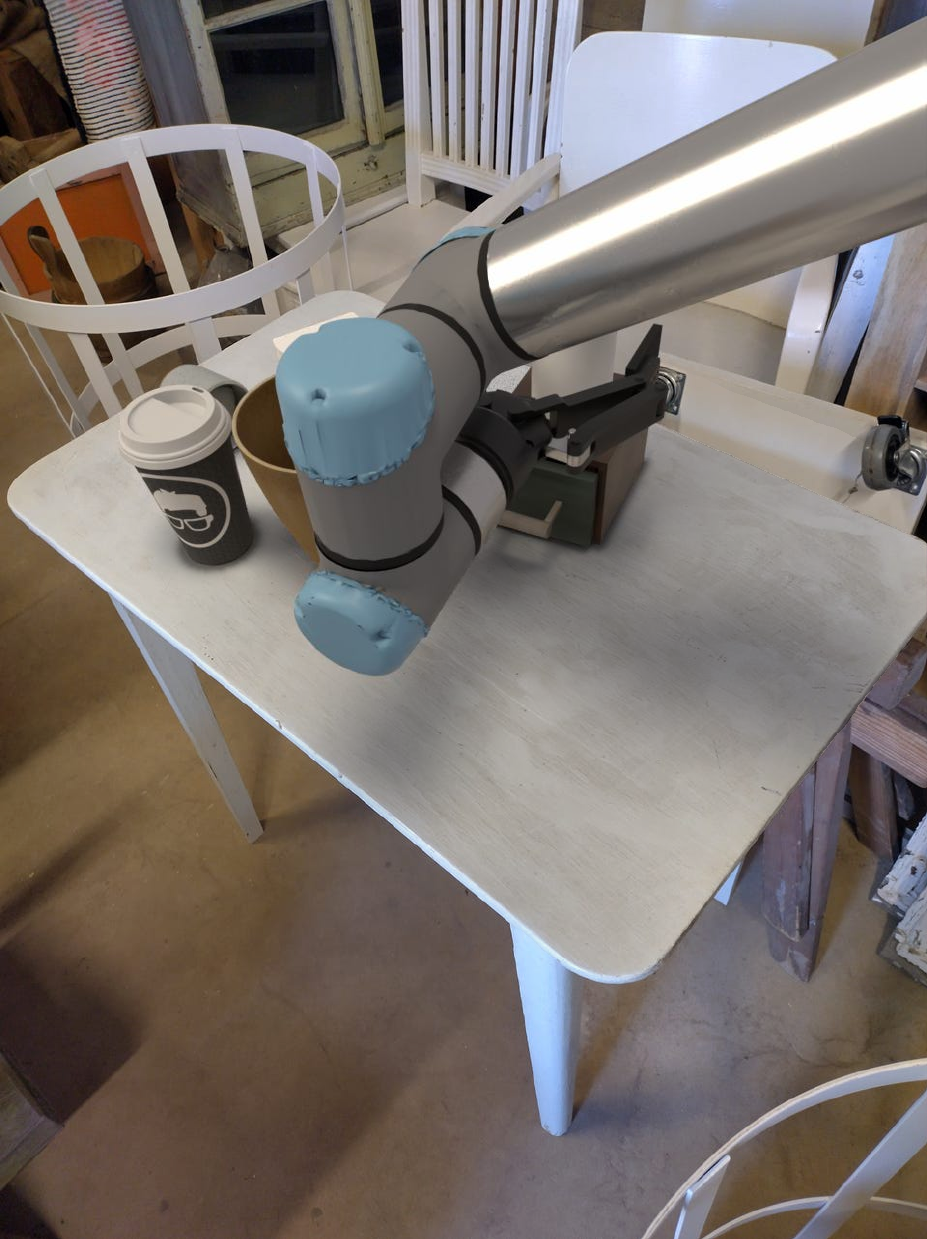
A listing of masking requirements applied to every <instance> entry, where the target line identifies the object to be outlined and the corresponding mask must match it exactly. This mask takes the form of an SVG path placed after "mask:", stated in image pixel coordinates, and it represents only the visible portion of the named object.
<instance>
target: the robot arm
mask: <svg viewBox="0 0 927 1239" xmlns="http://www.w3.org/2000/svg"><path fill="white" fill-rule="evenodd" d="M923 224H927V15H926V16H923V17H921V18H920V19H918V20H916V21H914V22H912V23H909V24H907V25H906V26H904V27H901V28H900V29H897V30H895V31H893V32H891V33H889V34H887V35H885V36H883V37H881V38H879V39H877V40H875V41H873V42H871V43H869V44H867V45H865V46H863V47H861V48H859V49H857V50H855V51H852V52H851V53H849V54H847V55H845V56H843V57H841V58H838V59H836V60H835V61H832V62H831V63H828V64H827V65H825V66H823V67H821V68H818V69H816V70H815V71H812V72H811V73H808V74H806V75H804V76H802V77H800V78H799V79H796V80H794V81H792V82H790V83H788V84H787V85H784V86H782V87H780V88H777V89H776V90H774V91H772V92H770V93H768V94H765V95H763V96H761V97H760V98H758V99H755V100H754V101H751V102H749V103H748V104H746V105H744V106H742V107H739V108H737V109H736V110H734V111H732V112H729V113H727V114H725V115H723V116H722V117H721V116H720V117H719V118H717V119H715V120H714V121H711V122H709V123H708V124H705V125H703V126H701V127H699V128H697V129H695V130H692V131H691V132H689V133H687V134H685V135H683V136H681V137H679V138H677V139H675V140H673V141H671V142H669V143H667V144H665V145H663V146H661V147H659V148H656V149H655V150H653V151H651V152H649V153H647V154H645V155H643V156H640V157H638V158H636V159H634V160H633V161H631V162H628V163H626V164H625V165H622V166H620V167H618V168H617V169H615V170H612V171H610V172H608V173H606V174H604V175H602V176H600V177H598V178H596V179H594V180H592V181H589V182H588V183H586V184H584V185H582V186H580V187H578V188H576V189H574V190H572V191H570V192H568V193H566V194H564V195H562V196H560V197H558V198H555V199H554V200H552V201H550V202H547V203H545V204H544V205H542V206H540V207H537V208H536V209H534V210H531V211H530V212H529V211H528V212H527V213H525V214H524V215H521V216H519V217H517V218H515V219H513V220H511V221H509V222H507V223H505V224H503V225H501V226H499V227H497V228H496V227H487V226H479V225H475V226H474V225H470V226H463V227H461V228H458V229H455V230H454V231H452V232H449V234H447V235H446V236H444V237H443V238H442V239H441V240H440V241H439V242H438V243H437V244H436V245H435V246H434V247H432V248H431V249H429V250H427V251H426V252H425V253H424V254H423V255H422V256H421V257H420V259H419V260H418V262H417V264H416V265H415V266H413V268H412V269H411V272H410V274H409V275H408V276H407V278H406V279H405V280H404V282H402V284H401V286H400V287H399V288H398V289H397V290H396V292H395V293H394V294H393V296H392V297H391V298H390V299H389V301H387V303H386V304H385V306H384V307H383V308H382V309H381V311H380V312H379V313H378V314H377V315H376V316H375V317H361V316H359V317H356V318H347V319H340V320H335V321H331V322H328V323H325V324H323V325H321V326H320V328H319V330H318V332H316V333H310V334H304V335H301V336H300V337H298V338H297V339H296V340H295V341H293V342H292V343H291V344H290V345H289V346H288V348H287V349H286V350H285V352H284V353H283V355H282V357H281V358H280V361H278V364H277V366H276V371H275V374H276V378H275V380H276V390H277V394H278V399H279V403H280V408H281V413H282V417H283V422H284V423H283V425H282V427H283V431H284V434H285V436H284V441H285V445H286V447H287V449H288V452H289V455H290V456H291V458H292V460H293V463H294V466H295V469H296V473H297V476H298V479H299V483H300V486H301V489H302V493H303V496H304V500H305V503H306V507H307V510H308V514H309V517H310V520H311V524H312V527H313V532H314V540H315V544H316V548H317V551H318V554H319V558H320V563H319V565H317V567H316V569H315V570H313V572H311V573H309V574H308V576H307V577H306V579H305V583H304V584H303V586H302V588H301V589H300V591H299V592H298V594H297V596H296V597H295V600H294V606H293V615H294V619H295V622H296V625H297V627H298V628H299V630H300V632H301V634H302V635H303V637H305V639H306V640H307V641H308V643H309V644H311V646H312V647H313V648H314V649H315V650H316V651H317V652H318V653H320V654H321V655H323V656H324V657H325V658H326V659H328V660H330V661H331V662H333V663H335V665H337V666H339V667H342V668H344V669H346V670H349V671H352V672H354V673H356V674H359V675H362V676H367V677H369V676H370V677H382V676H387V675H390V674H393V673H395V672H396V671H398V670H399V669H400V668H401V667H402V666H403V665H404V663H405V662H406V661H407V659H408V658H409V656H410V655H411V654H412V653H413V651H414V650H415V649H416V647H417V646H418V644H419V643H421V641H422V639H425V638H426V637H428V635H429V634H430V631H431V628H432V625H433V624H434V622H435V621H436V620H437V618H438V616H439V614H440V613H441V611H442V610H443V609H444V607H445V606H446V603H448V600H449V599H450V598H451V596H452V594H453V593H454V591H455V590H456V587H458V585H459V583H460V582H461V581H462V579H463V577H464V576H465V574H466V572H467V571H468V569H469V568H470V566H471V565H472V563H473V561H474V560H475V559H476V557H477V555H478V554H479V553H480V551H481V550H482V549H483V547H484V545H485V544H486V543H487V541H488V539H489V538H490V537H491V534H492V533H493V532H494V530H495V529H496V528H497V526H498V525H499V524H498V523H499V521H500V520H501V518H502V517H503V514H504V512H505V511H506V510H507V509H508V508H509V507H510V505H511V504H512V502H513V500H514V499H515V497H516V496H517V494H518V493H519V491H520V490H521V488H522V487H523V485H524V484H525V482H526V481H527V479H528V477H529V476H530V474H531V472H532V470H533V468H534V466H535V465H536V464H537V463H538V462H540V461H542V460H544V459H546V458H547V457H551V458H554V459H556V460H559V461H562V462H565V463H566V472H567V473H568V474H570V475H579V474H581V473H582V472H583V471H584V469H585V468H586V467H587V466H588V464H589V463H590V462H591V461H592V460H593V459H594V458H596V457H597V456H599V455H601V454H603V453H604V452H606V451H608V450H609V449H611V448H613V447H615V446H616V445H618V444H620V443H622V442H623V441H625V440H627V439H629V438H630V437H632V436H634V435H636V434H637V433H639V432H641V431H643V430H644V429H646V428H648V427H649V428H650V427H651V426H654V425H655V424H657V423H658V422H660V421H662V420H663V419H664V418H665V413H666V408H667V402H668V394H669V386H668V385H667V384H665V383H661V382H660V383H656V382H657V380H659V375H660V374H659V373H660V368H661V357H659V356H660V348H661V341H662V335H663V334H662V333H663V327H664V326H663V324H658V323H653V324H652V325H651V326H650V328H649V329H648V332H647V333H646V334H645V337H643V339H642V341H641V342H640V344H639V346H638V347H637V349H636V351H635V352H634V353H633V355H632V357H631V358H630V359H629V361H628V363H627V364H626V366H625V368H624V375H625V377H624V378H621V379H618V380H615V381H611V382H608V383H605V384H602V385H599V386H596V387H592V388H589V389H586V390H583V391H580V392H577V393H573V394H570V395H567V396H564V397H560V396H559V395H558V394H552V395H549V396H545V397H542V398H539V399H536V398H533V397H529V396H521V395H514V394H512V392H509V391H507V390H505V389H504V390H503V389H499V388H496V389H495V390H493V391H492V390H491V391H487V389H488V387H490V384H491V383H492V381H493V380H494V379H495V378H496V377H498V376H500V375H501V374H503V373H505V372H508V371H511V370H514V369H517V368H519V367H522V366H526V365H528V364H532V362H534V361H537V360H539V359H542V358H544V357H547V356H549V355H550V354H553V353H556V352H559V351H562V350H565V349H567V348H570V347H573V346H576V345H579V344H582V343H585V342H587V341H590V340H593V339H596V338H599V337H602V336H605V335H607V334H610V333H613V332H616V331H617V332H618V331H621V330H624V329H627V328H630V327H633V326H636V325H639V324H641V323H644V322H647V321H650V320H653V319H656V318H659V317H662V316H664V315H667V314H669V313H673V312H676V311H679V310H681V309H684V308H687V307H690V306H693V305H696V304H699V303H701V302H705V301H707V300H710V299H713V298H716V297H718V296H721V295H725V294H727V293H730V292H732V291H735V290H738V289H741V288H744V287H747V286H750V285H753V284H756V283H758V282H762V281H764V280H768V279H770V278H773V277H775V276H778V275H781V274H785V273H787V272H791V271H793V270H795V269H799V268H802V267H805V266H807V265H810V264H813V263H816V262H819V261H821V260H824V259H827V258H831V257H832V256H836V255H838V254H841V253H844V252H846V251H850V250H852V249H855V248H858V247H861V246H864V245H867V244H869V243H873V242H875V241H878V240H881V239H884V238H886V237H890V236H893V235H895V234H898V233H901V232H905V231H907V230H911V229H912V228H915V227H918V226H922V225H923ZM549 412H550V421H549V424H548V421H547V419H546V416H545V414H546V413H549ZM649 428H648V429H649ZM567 434H568V435H567Z"/></svg>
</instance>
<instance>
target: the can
mask: <svg viewBox="0 0 927 1239" xmlns="http://www.w3.org/2000/svg"><path fill="white" fill-rule="evenodd" d="M617 339H618V331H616V332H613V333H610V334H607V335H605V336H602V337H599V338H596V339H593V340H590V341H587V342H585V343H582V344H579V345H576V346H573V347H570V348H567V349H565V350H562V351H559V352H556V353H553V354H550V355H549V356H547V357H544V358H542V359H539V360H537V361H534V362H531V366H532V397H533V398H536V399H539V398H542V397H545V396H549V395H552V394H558V395H559V396H560V397H564V396H567V395H570V394H573V393H577V392H580V391H583V390H586V389H589V388H592V387H596V386H599V385H602V384H605V383H608V382H611V381H613V373H615V372H614V370H615V361H616V351H617ZM545 416H546V418H547V419H549V420H550V412H549V413H546V414H545Z"/></svg>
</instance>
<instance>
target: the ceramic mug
mask: <svg viewBox="0 0 927 1239" xmlns="http://www.w3.org/2000/svg"><path fill="white" fill-rule="evenodd" d="M171 385H192V386H197V387H200V388H202V389H204V390H206V391H208V392H209V393H210V394H211V395H212V396H213V398H215V399H217V400H218V401H219V402H220V403H221V404H222V405H223V406H224V407H225V409H226V410H227V411H228V413H229V414H230V416H231V419H233V415H234V412H235V409H236V407H237V406H238V404H239V402H240V401H241V399H242V398H243V397H244V396H245V395H246V394H247V393H248V392H249V391H250V390H249V389H248V388H247V387H246V386H245V385H243V384H242V383H240V382H239V381H237V380H235V379H232V378H229V377H228V376H225V375H223V374H221V373H218V372H217V371H213V370H211V369H209V368H206V367H204V366H202V365H197V364H196V365H195V364H182V365H179V366H176V367H174V368H172V369H171V370H170V371H168V373H166V374H165V375H164V377H163V379H162V380H161V382H160V384H159V387H158V388H161V387H165V386H171ZM230 438H231V443H232V447H233V450H234V449H237V448H238V446H237V444H236V442H235V439H234V436H233V433H232V428H231V432H230Z"/></svg>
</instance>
